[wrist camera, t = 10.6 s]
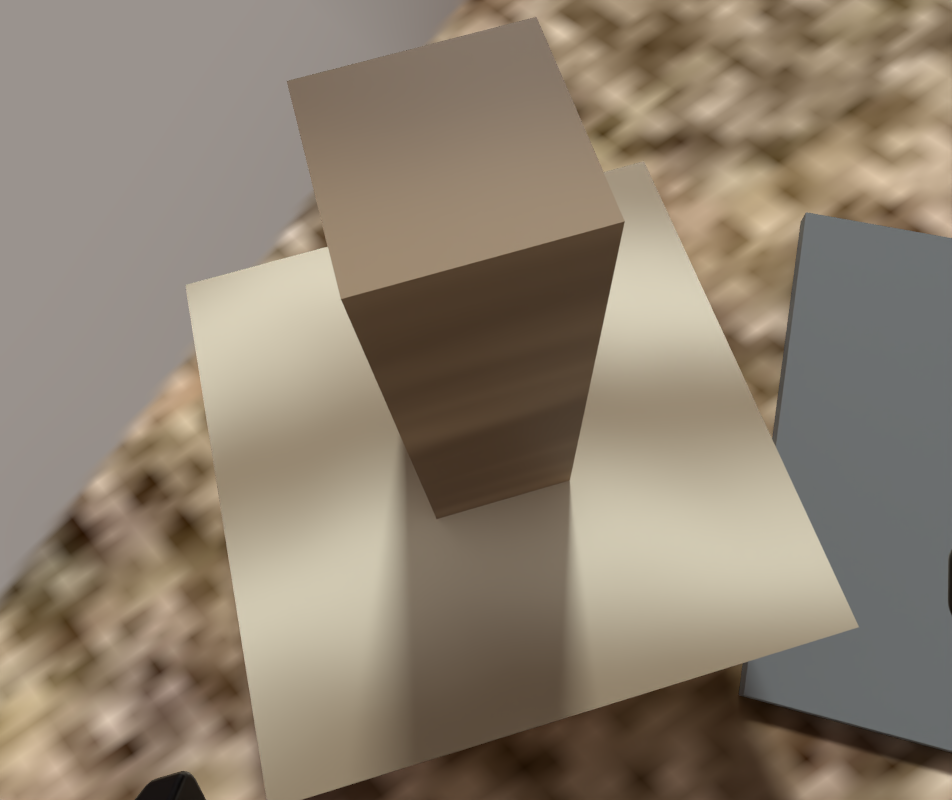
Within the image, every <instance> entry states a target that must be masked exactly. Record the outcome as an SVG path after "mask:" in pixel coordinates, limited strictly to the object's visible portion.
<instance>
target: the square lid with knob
mask: <svg viewBox="0 0 952 800" xmlns="http://www.w3.org/2000/svg"><path fill="white" fill-rule="evenodd" d="M287 83H288V88H289V92H290V95H291V100H292V104H293V108H294V111H295V116H296V120H297V124H298V128H299V132H300V136H301V140H302V144H303V148H304V152H305V156H306V160H307V164H308V168H309V172H310V177H311V181H312V185H313V189H314V193H315V197H316V201H317V205H318V209H319V213H320V217H321V221H322V225H323V229H324V233H325V237H326V241H327V245H328V247H325V248H321V249H317V250H314V251H310V252H306V253H303V254H299V255H295V256H291V257H288V258H284V259H280V260H277V261H273V262H269V263H265V264H262V265H258V266H254V267H251V268H247V269H244V270H239V271H236V272H232V273H228V274H225V275H221V276H217V277H214V278H210V279H207V280H203V281H199V282H195V283H191V284H188V285H186V291H187V298H188V304H189V310H190V317H191V323H192V330H193V336H194V342H195V349H196V355H197V361H198V368H199V374H200V380H201V387H202V393H203V399H204V406H205V412H206V418H207V425H208V431H209V437H210V444H211V450H212V456H213V463H214V469H215V475H216V482H217V488H218V495H219V501H220V507H221V514H222V520H223V526H224V533H225V539H226V545H227V552H228V558H229V564H230V571H231V577H232V583H233V590H234V596H235V602H236V609H237V615H238V621H239V628H240V634H241V640H242V647H243V653H244V659H245V666H246V672H247V678H248V685H249V691H250V697H251V704H252V710H253V717H254V723H255V729H256V736H257V742H258V748H259V755H260V761H261V767H262V774H263V780H264V786H265V793H266V799H267V800H302V799H306V798H309V797H312V796H315V795H319V794H322V793H325V792H328V791H331V790H335V789H338V788H341V787H344V786H348V785H351V784H354V783H357V782H361V781H364V780H367V779H370V778H373V777H377V776H380V775H383V774H386V773H390V772H393V771H396V770H399V769H402V768H406V767H409V766H412V765H415V764H419V763H422V762H425V761H428V760H432V759H435V758H438V757H441V756H444V755H448V754H451V753H454V752H457V751H461V750H464V749H467V748H470V747H474V746H477V745H480V744H483V743H486V742H490V741H493V740H496V739H499V738H503V737H506V736H509V735H512V734H515V733H519V732H522V731H525V730H528V729H532V728H535V727H538V726H541V725H545V724H548V723H551V722H554V721H557V720H561V719H564V718H567V717H570V716H574V715H577V714H580V713H583V712H587V711H590V710H593V709H596V708H599V707H603V706H606V705H609V704H612V703H616V702H619V701H622V700H625V699H628V698H632V697H635V696H638V695H641V694H645V693H648V692H651V691H654V690H658V689H661V688H664V687H667V686H670V685H674V684H677V683H680V682H683V681H687V680H690V679H693V678H696V677H700V676H703V675H706V674H709V673H712V672H716V671H719V670H722V669H725V668H729V667H732V666H735V665H738V664H741V663H745V662H748V661H751V660H754V659H758V658H761V657H764V656H767V655H771V654H774V653H777V652H780V651H783V650H787V649H790V648H793V647H796V646H800V645H803V644H806V643H809V642H813V641H816V640H819V639H822V638H825V637H829V636H832V635H835V634H838V633H842V632H845V631H848V630H851V629H855V628H858V627H859V626H858V624H857V622H856V619H855V617H854V615H853V613H852V611H851V609H850V606H849V604H848V602H847V600H846V598H845V596H844V594H843V591H842V589H841V587H840V585H839V583H838V581H837V578H836V576H835V574H834V572H833V570H832V568H831V565H830V563H829V561H828V559H827V557H826V555H825V552H824V550H823V548H822V546H821V544H820V542H819V539H818V537H817V535H816V533H815V531H814V529H813V526H812V524H811V522H810V520H809V518H808V516H807V513H806V511H805V509H804V507H803V505H802V503H801V500H800V498H799V496H798V494H797V492H796V490H795V487H794V485H793V483H792V481H791V479H790V477H789V474H788V472H787V470H786V468H785V466H784V464H783V461H782V459H781V457H780V455H779V453H778V451H777V448H776V446H775V444H774V442H773V440H772V438H771V435H770V433H769V431H768V429H767V427H766V425H765V422H764V420H763V418H762V416H761V414H760V412H759V410H758V407H757V405H756V403H755V401H754V399H753V397H752V394H751V392H750V390H749V388H748V386H747V384H746V381H745V379H744V377H743V375H742V373H741V371H740V368H739V366H738V364H737V362H736V360H735V358H734V355H733V353H732V351H731V349H730V347H729V345H728V342H727V340H726V338H725V336H724V334H723V332H722V329H721V327H720V325H719V323H718V321H717V319H716V316H715V314H714V312H713V310H712V308H711V306H710V303H709V301H708V299H707V297H706V295H705V293H704V290H703V288H702V286H701V284H700V282H699V280H698V277H697V275H696V273H695V271H694V269H693V267H692V264H691V262H690V260H689V258H688V256H687V254H686V251H685V249H684V247H683V245H682V243H681V241H680V239H679V236H678V234H677V232H676V230H675V228H674V226H673V223H672V221H671V219H670V217H669V215H668V213H667V210H666V208H665V206H664V204H663V202H662V200H661V197H660V195H659V193H658V191H657V189H656V187H655V184H654V182H653V180H652V178H651V176H650V174H649V171H648V169H647V167H646V165H645V163H644V162H640V163H636V164H633V165H629V166H625V167H621V168H618V169H614V170H610V171H607V172H603V170H602V168H601V165H600V163H599V161H598V158H597V156H596V154H595V151H594V149H593V147H592V145H591V142H590V140H589V138H588V135H587V133H586V131H585V128H584V126H583V124H582V121H581V119H580V117H579V115H578V112H577V110H576V108H575V105H574V103H573V101H572V98H571V96H570V94H569V91H568V89H567V87H566V85H565V82H564V80H563V78H562V75H561V73H560V71H559V68H558V66H557V64H556V61H555V59H554V57H553V55H552V52H551V50H550V48H549V45H548V43H547V41H546V38H545V36H544V34H543V31H542V29H541V27H540V25H539V22H538V20H537V18H536V17H535V18H531V19H527V20H523V21H519V22H515V23H511V24H507V25H503V26H499V27H496V28H492V29H488V30H484V31H480V32H476V33H472V34H468V35H464V36H461V37H457V38H453V39H449V40H445V41H441V42H437V43H433V44H429V45H425V46H422V47H418V48H414V49H410V50H406V51H402V52H399V53H394V54H391V55H387V56H383V57H379V58H375V59H371V60H367V61H363V62H360V63H355V64H351V65H348V66H344V67H340V68H336V69H332V70H328V71H324V72H320V73H316V74H312V75H309V76H305V77H301V78H297V79H293V80H289V81H287Z"/></svg>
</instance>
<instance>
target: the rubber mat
mask: <svg viewBox="0 0 952 800" xmlns="http://www.w3.org/2000/svg"><path fill="white" fill-rule="evenodd" d="M772 440H773V442H774V444H775V446H776V448H777V451H778V453H779V455H780V457H781V459H782V461H783V464H784V466H785V468H786V470H787V472H788V474H789V477H790V479H791V481H792V483H793V485H794V487H795V490H796V492H797V494H798V496H799V498H800V500H801V503H802V505H803V507H804V509H805V511H806V513H807V516H808V518H809V520H810V522H811V524H812V526H813V529H814V531H815V533H816V535H817V537H818V539H819V542H820V544H821V546H822V548H823V550H824V552H825V555H826V557H827V559H828V561H829V563H830V565H831V568H832V570H833V572H834V574H835V576H836V578H837V581H838V583H839V585H840V587H841V589H842V591H843V594H844V596H845V598H846V600H847V602H848V604H849V606H850V609H851V611H852V613H853V615H854V617H855V619H856V622H857V624H858V626H859V627H858V628H855V629H851V630H848V631H845V632H842V633H838V634H835V635H832V636H829V637H825V638H822V639H819V640H816V641H813V642H809V643H806V644H803V645H800V646H796V647H793V648H790V649H787V650H783V651H780V652H777V653H774V654H771V655H767V656H764V657H761V658H758V659H754V660H751V661H748V662H745V663H743V666H742V674H741V681H740V689H739V695H740V696H744V697H747V698H751V699H755V700H758V701H762V702H766V703H770V704H773V705H777V706H781V707H784V708H788V709H792V710H795V711H799V712H803V713H807V714H810V715H814V716H818V717H821V718H825V719H829V720H833V721H836V722H840V723H844V724H847V725H851V726H855V727H858V728H862V729H866V730H870V731H873V732H877V733H881V734H884V735H888V736H892V737H896V738H899V739H903V740H907V741H910V742H914V743H918V744H921V745H925V746H929V747H933V748H936V749H940V750H944V751H947V752H951V753H952V615H951V613H950V610H949V606H948V557H949V553H950V551H951V549H952V238H947V237H942V236H936V235H930V234H925V233H919V232H913V231H908V230H902V229H897V228H891V227H885V226H880V225H874V224H868V223H863V222H857V221H852V220H846V219H840V218H835V217H829V216H823V215H818V214H812V213H807V212H806V214H805V215H804V217H803V219H802V221H801V225H800V233H799V240H798V248H797V255H796V263H795V271H794V278H793V286H792V293H791V301H790V309H789V316H788V324H787V331H786V339H785V347H784V354H783V362H782V369H781V377H780V385H779V392H778V400H777V407H776V415H775V423H774V430H773V438H772Z"/></svg>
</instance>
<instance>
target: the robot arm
mask: <svg viewBox="0 0 952 800" xmlns="http://www.w3.org/2000/svg"><path fill="white" fill-rule="evenodd" d="M948 606H949V610H950V613H951V615H952V549H951V551H950V553H949V557H948ZM135 800H206V799H205V797H204V795H203V793H202V791H201V789H200V787H199V785H198V783H197V781H196V779H195V778H194V777H193V775H192V774H191V773H189V772H187V771H181V772H177V773H174V774H170V775H167V776H164V777H160V778H157V779H155V780H152V781H151V782H149V783H148V784H147V785H146V786H145V788H144V789H143V790H142V791H141V792H140V794H139V795H138V796H137V797H136V799H135Z"/></svg>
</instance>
